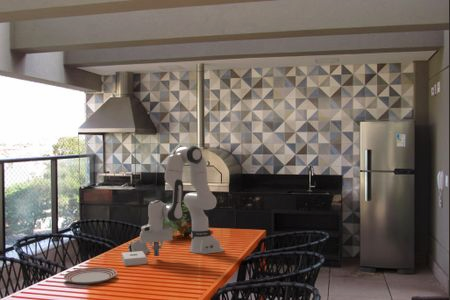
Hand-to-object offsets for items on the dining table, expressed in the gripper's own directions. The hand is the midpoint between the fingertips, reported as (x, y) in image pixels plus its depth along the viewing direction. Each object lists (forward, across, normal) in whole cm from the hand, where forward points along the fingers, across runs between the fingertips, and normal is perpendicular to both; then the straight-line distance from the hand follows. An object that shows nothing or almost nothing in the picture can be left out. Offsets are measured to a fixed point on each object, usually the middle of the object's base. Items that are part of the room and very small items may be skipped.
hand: (156, 248), depth 307 cm
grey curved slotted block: (+7, +9, -20) cm, 23 cm away
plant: (+8, -24, -65) cm, 70 cm away
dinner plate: (+6, +40, +34) cm, 53 cm away
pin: (+4, 0, 0) cm, 4 cm away
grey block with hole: (+6, +14, 0) cm, 15 cm away
